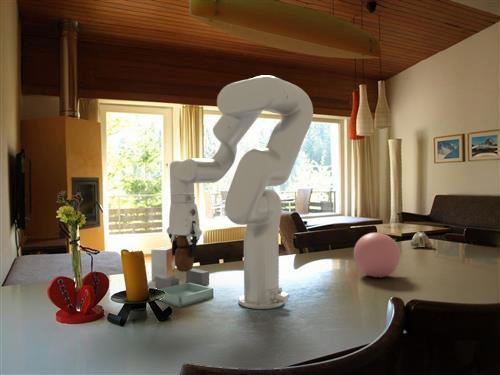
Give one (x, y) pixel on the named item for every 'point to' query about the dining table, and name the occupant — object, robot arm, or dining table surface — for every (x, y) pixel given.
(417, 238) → the ceramic sculpture
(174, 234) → the robot arm
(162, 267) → the small box
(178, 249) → the wooden figurine
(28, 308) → the dining table surface
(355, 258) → the pink rubber ball
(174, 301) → the tray
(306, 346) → the dining table surface
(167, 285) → the grey blocks
